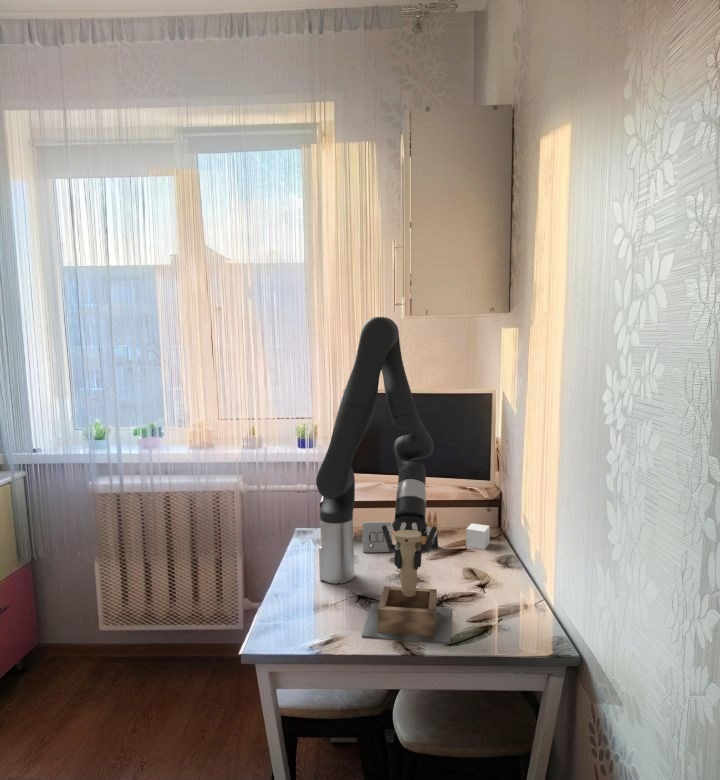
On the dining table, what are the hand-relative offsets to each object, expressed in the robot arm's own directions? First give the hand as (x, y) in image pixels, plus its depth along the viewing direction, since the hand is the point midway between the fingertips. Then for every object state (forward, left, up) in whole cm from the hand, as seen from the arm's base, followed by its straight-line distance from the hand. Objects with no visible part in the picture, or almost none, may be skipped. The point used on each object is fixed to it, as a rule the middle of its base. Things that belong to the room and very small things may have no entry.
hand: (407, 567), depth 136 cm
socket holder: (0, +2, -14) cm, 15 cm away
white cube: (+18, +55, -15) cm, 60 cm away
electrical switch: (-14, +47, -15) cm, 51 cm away
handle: (0, +2, -8) cm, 8 cm away
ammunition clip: (0, +51, -15) cm, 53 cm away
